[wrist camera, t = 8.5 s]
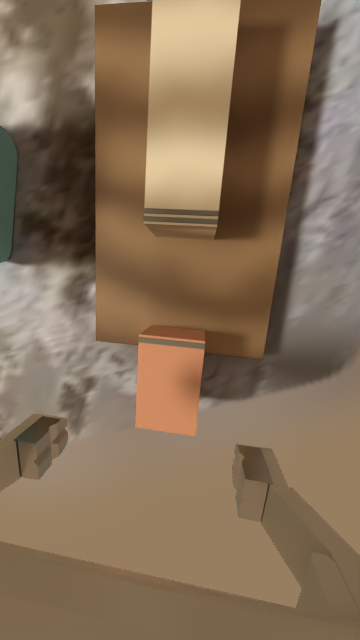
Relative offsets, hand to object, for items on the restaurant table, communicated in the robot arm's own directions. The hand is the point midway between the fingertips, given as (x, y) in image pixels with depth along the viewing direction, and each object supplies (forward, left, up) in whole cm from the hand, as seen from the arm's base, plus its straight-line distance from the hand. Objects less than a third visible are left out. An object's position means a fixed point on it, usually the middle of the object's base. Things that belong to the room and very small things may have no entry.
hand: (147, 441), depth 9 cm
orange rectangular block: (+1, 0, -9) cm, 9 cm away
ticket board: (-14, 0, -12) cm, 18 cm away
